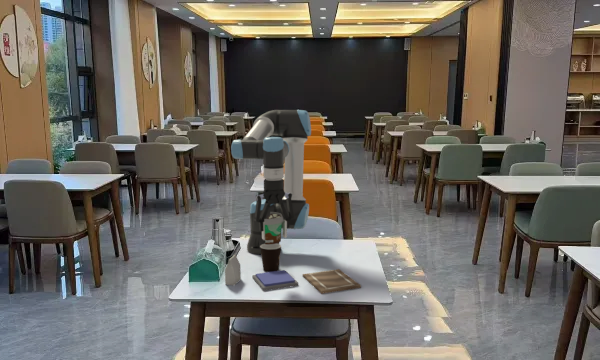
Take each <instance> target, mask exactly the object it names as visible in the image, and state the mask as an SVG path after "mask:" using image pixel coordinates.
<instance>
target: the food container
mask: <svg viewBox="0 0 600 360" xmlns="http://www.w3.org/2000/svg"><path fill="white" fill-rule="evenodd" d="M283 221H284V219H283V216H282V214H280V213H277V212H270V216H268V217H267V219H264V225H265V245H269V244H276V243H279V244H280V243H281V240H282V231H283V229H282V222H283Z"/></svg>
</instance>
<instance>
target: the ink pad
mask: <svg viewBox="0 0 600 360" xmlns="http://www.w3.org/2000/svg"><path fill="white" fill-rule="evenodd" d="M252 280H254V282H255V284H256V285H257V286H258V287H259V288H260V289H261V291H263V292H264V291H271V289H272V290H277V289H278V288H279V289H285V288H284V287H286V288H291V287H290V286H293V287H298V286H299V282H298V281H297V280H296V279H295V277H293V276H292V275H291V274H290V273H289V272H288V271H287V270H285V269H283V270H278V271H274V272H261V273H260V272H259V273H255V274H253V275H252Z"/></svg>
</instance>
